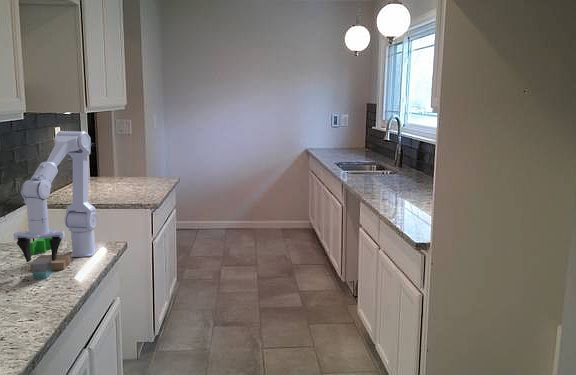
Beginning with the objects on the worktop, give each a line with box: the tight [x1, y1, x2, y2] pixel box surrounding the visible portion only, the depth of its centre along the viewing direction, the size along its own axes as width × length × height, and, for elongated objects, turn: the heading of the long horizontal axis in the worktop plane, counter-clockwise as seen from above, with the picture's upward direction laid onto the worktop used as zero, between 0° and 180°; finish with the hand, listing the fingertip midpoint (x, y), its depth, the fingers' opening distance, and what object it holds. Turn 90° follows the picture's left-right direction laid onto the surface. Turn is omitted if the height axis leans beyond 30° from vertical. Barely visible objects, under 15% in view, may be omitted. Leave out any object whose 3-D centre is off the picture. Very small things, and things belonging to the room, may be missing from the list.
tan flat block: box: [30, 253, 72, 271], centre depth 176 cm, size 9×10×2 cm
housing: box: [31, 257, 54, 280], centre depth 167 cm, size 6×4×5 cm, turn 7°
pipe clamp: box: [30, 238, 52, 256], centre depth 193 cm, size 11×4×5 cm, turn 173°
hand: (41, 260), depth 166 cm, fingers open, 7 cm apart
